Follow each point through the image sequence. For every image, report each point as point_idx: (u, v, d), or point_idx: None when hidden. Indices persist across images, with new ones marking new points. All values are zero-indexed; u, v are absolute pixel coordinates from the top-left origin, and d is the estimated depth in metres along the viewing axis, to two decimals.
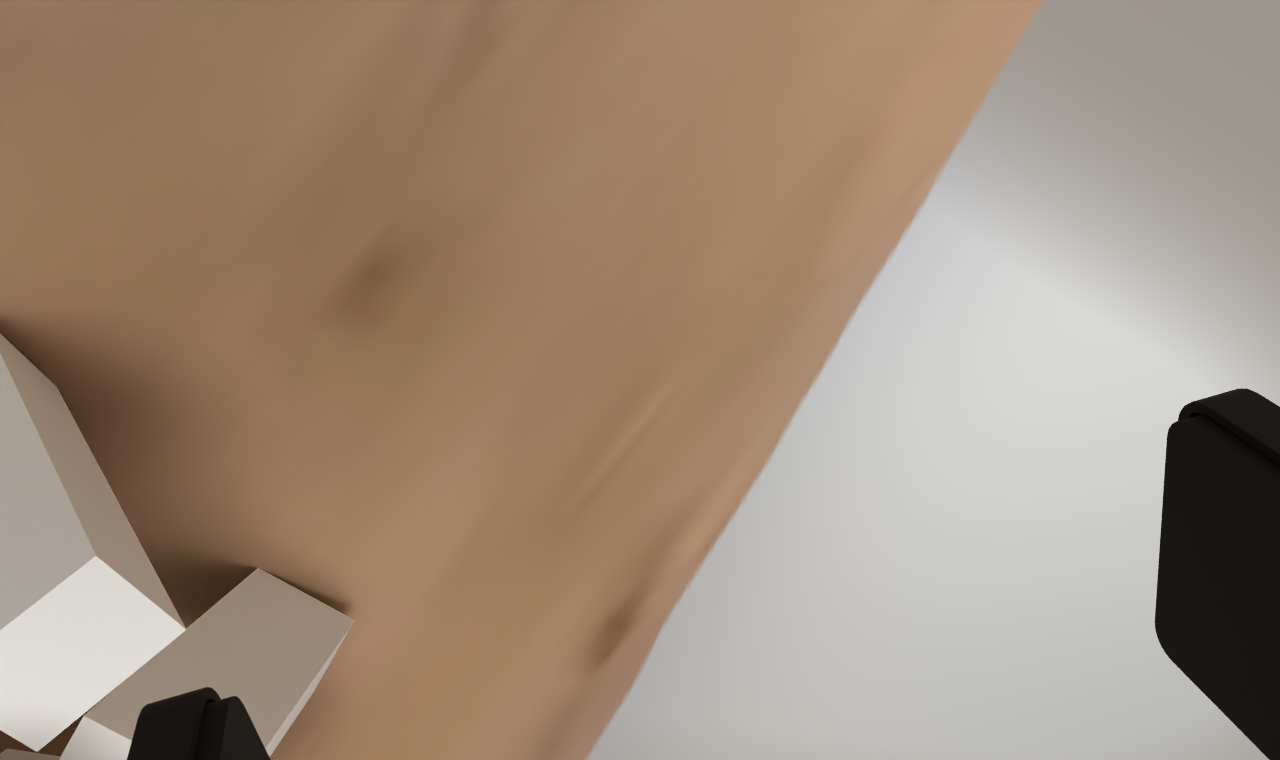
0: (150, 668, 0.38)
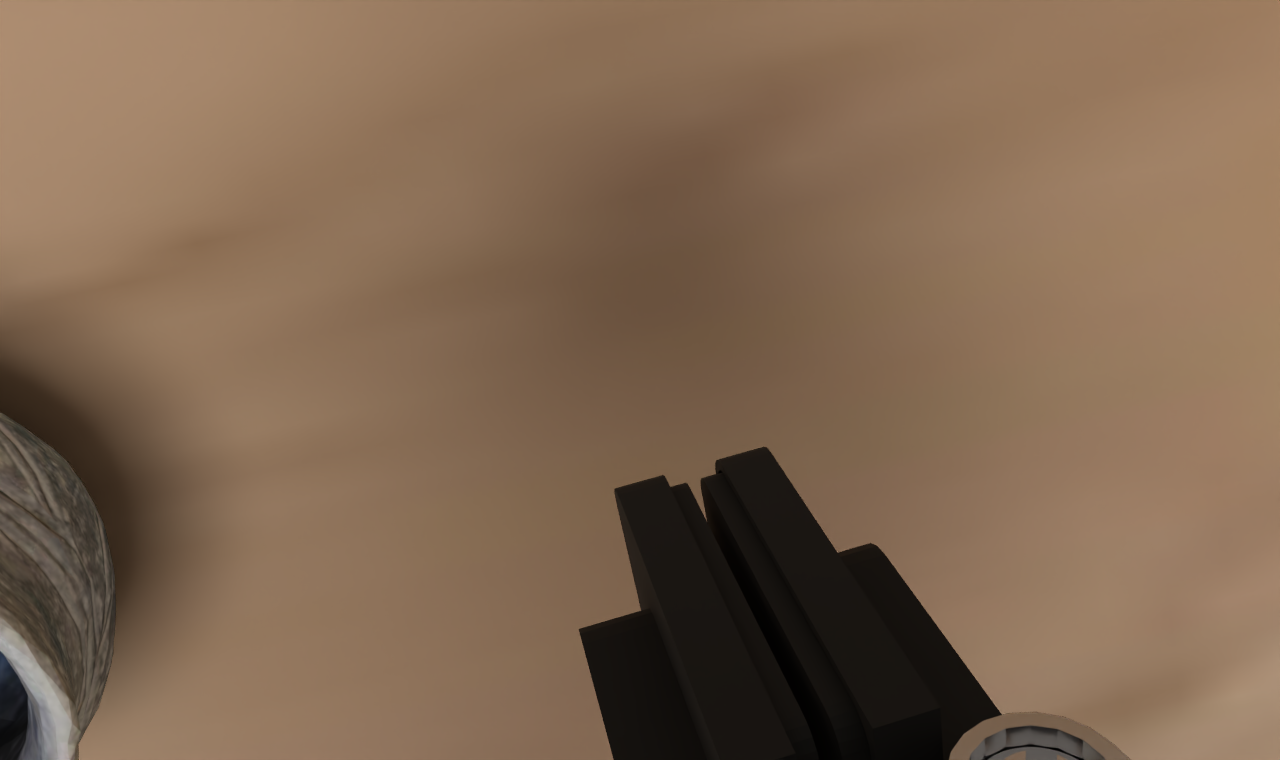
0: None
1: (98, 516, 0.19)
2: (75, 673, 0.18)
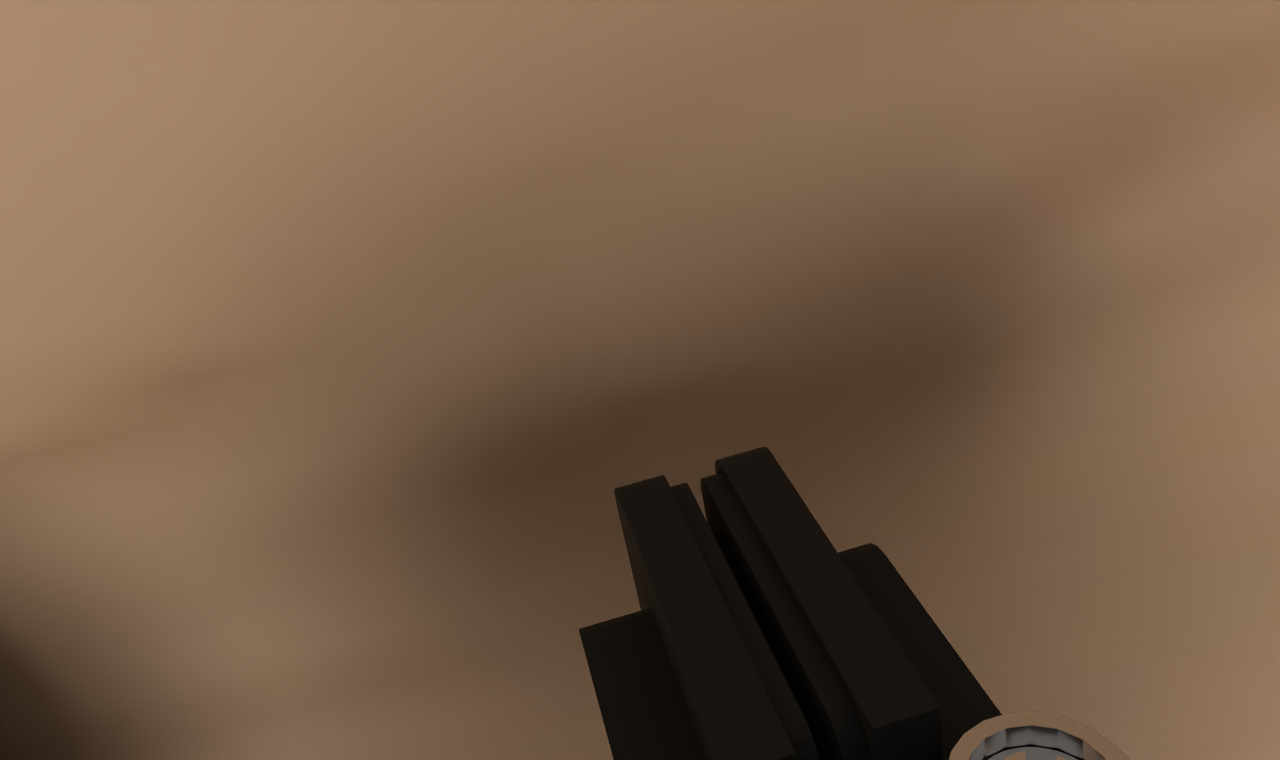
0: None
1: None
2: None
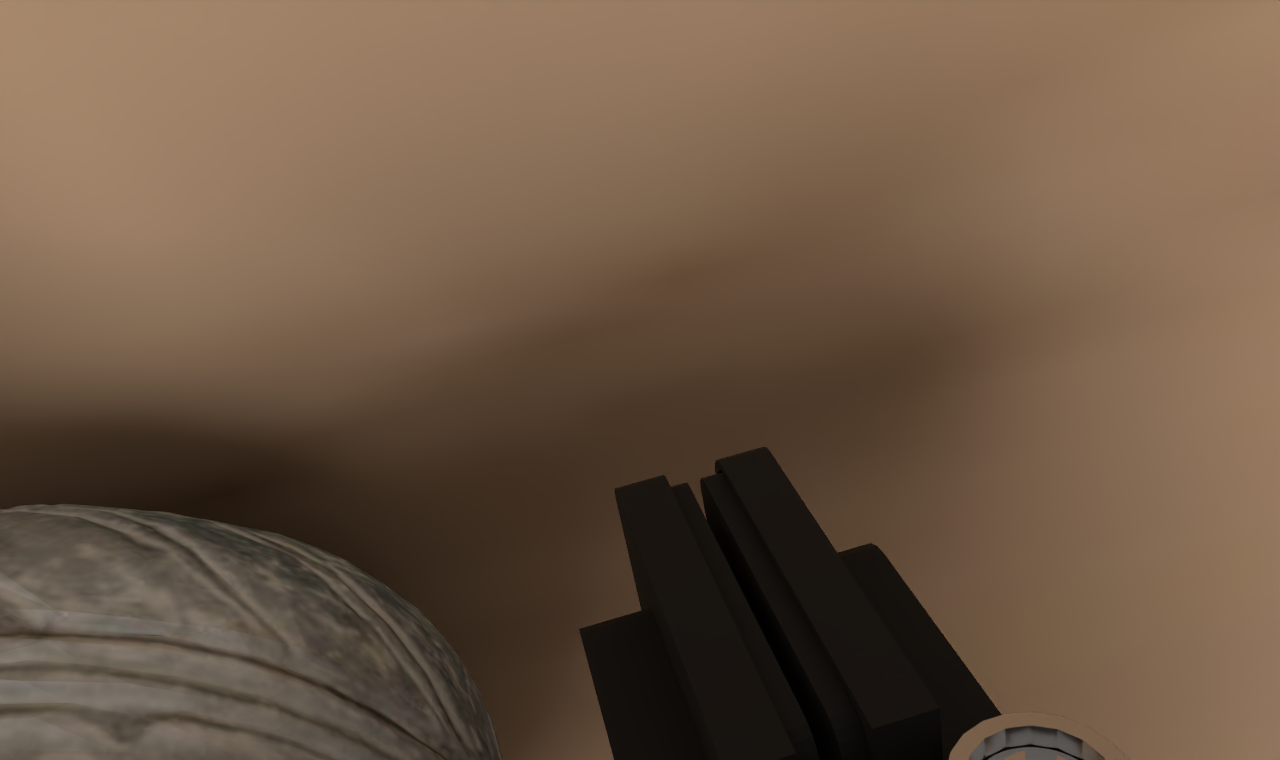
0: None
1: (486, 710, 0.12)
2: None
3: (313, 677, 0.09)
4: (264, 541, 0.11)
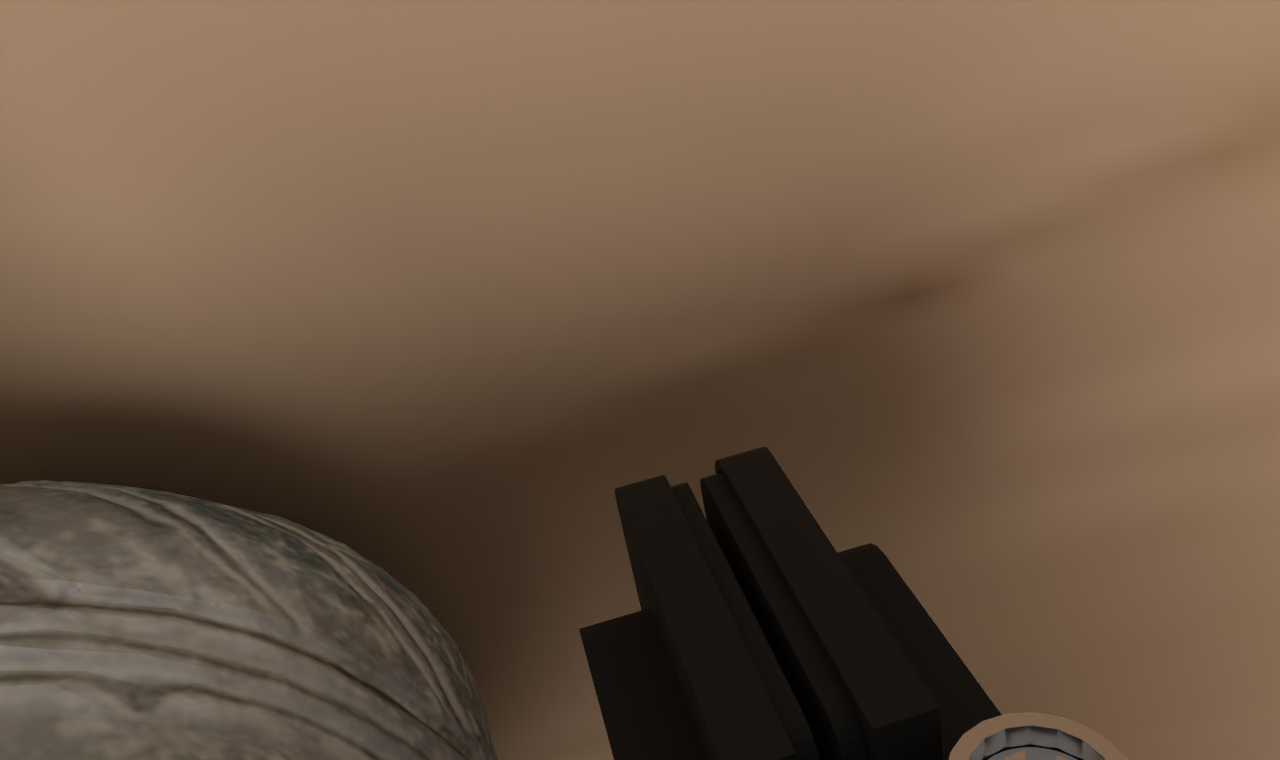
0: None
1: None
2: None
3: (321, 655, 0.09)
4: (268, 523, 0.11)
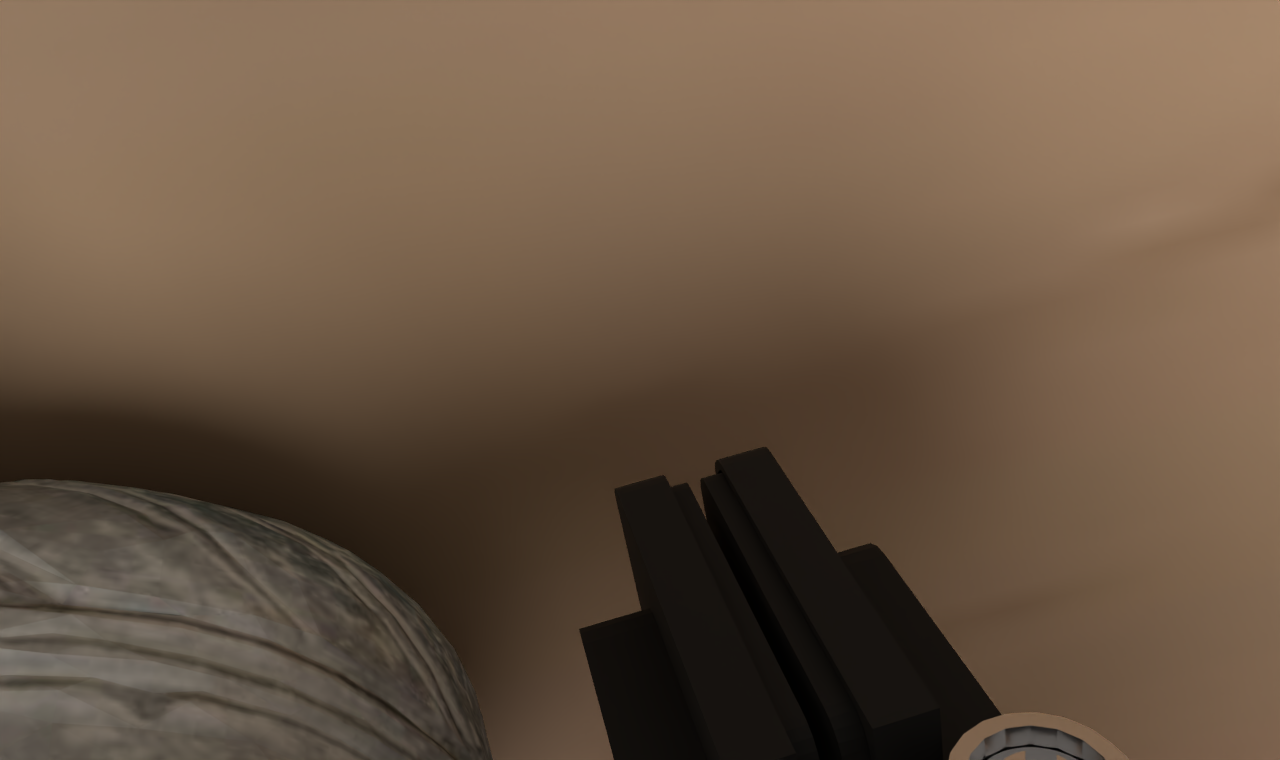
0: None
1: None
2: None
3: (326, 665, 0.09)
4: (273, 528, 0.11)
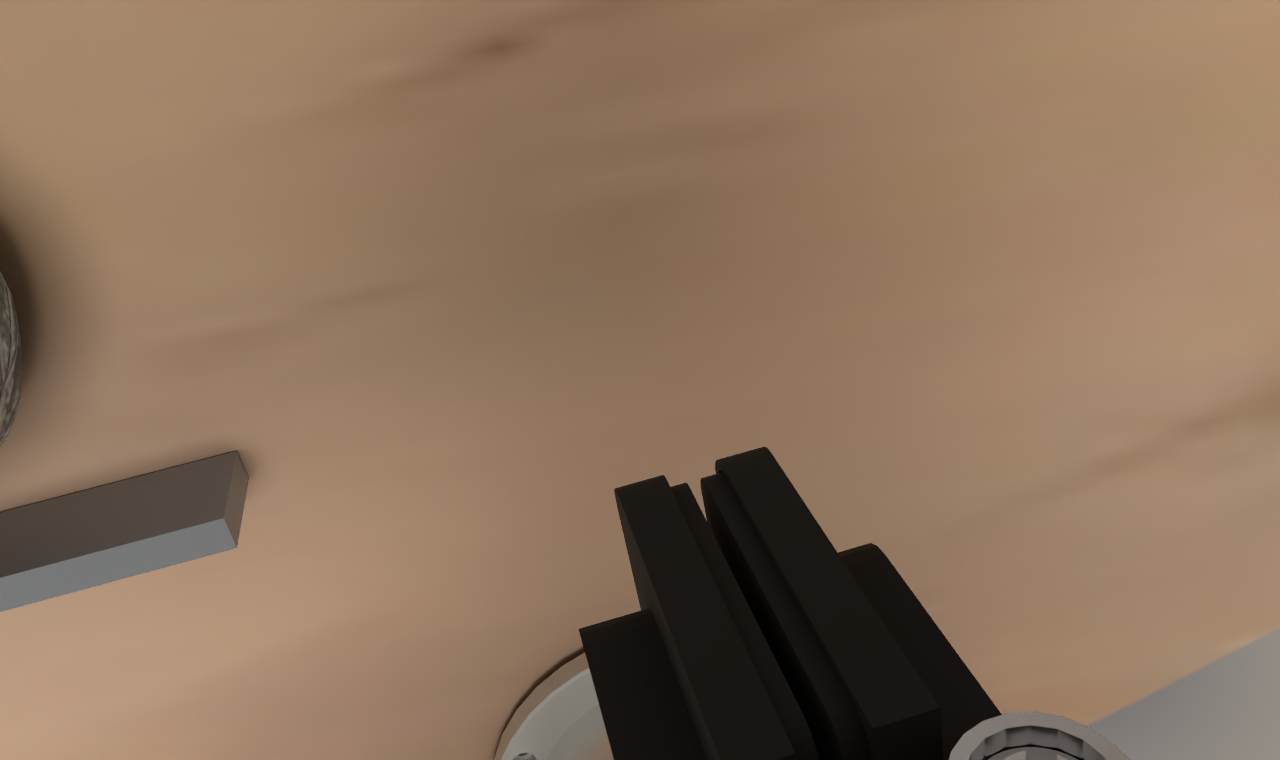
0: None
1: (7, 288, 0.26)
2: None
3: None
4: None
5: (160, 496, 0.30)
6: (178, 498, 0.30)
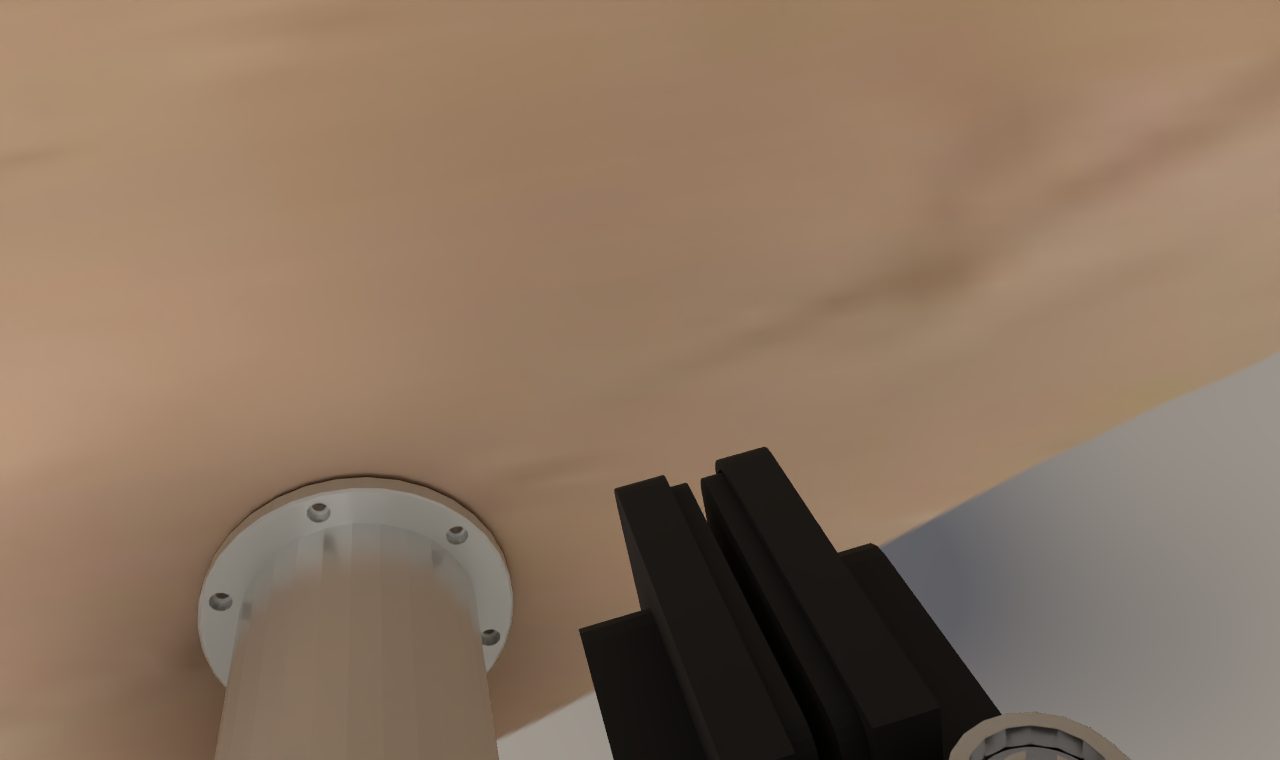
0: None
1: None
2: None
3: None
4: None
5: None
6: None
